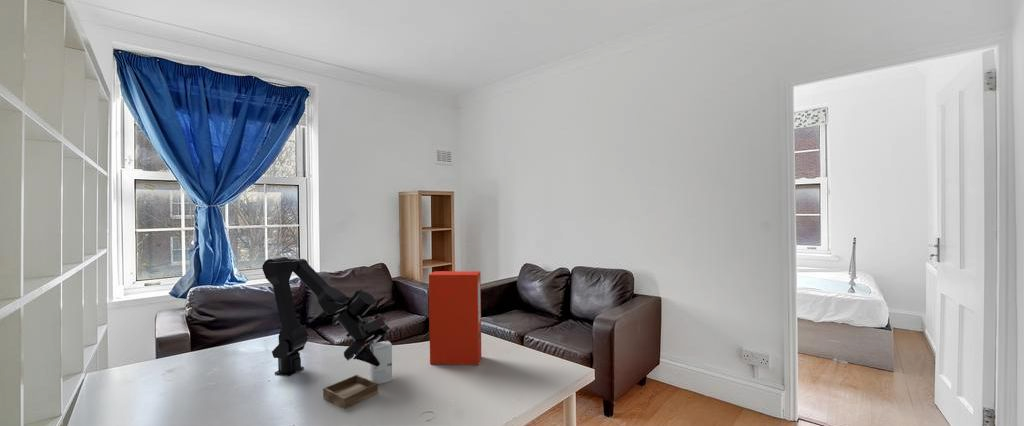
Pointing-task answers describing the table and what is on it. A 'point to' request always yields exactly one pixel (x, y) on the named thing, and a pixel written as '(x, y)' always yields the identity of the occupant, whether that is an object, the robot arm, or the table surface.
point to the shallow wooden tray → (350, 391)
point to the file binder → (455, 317)
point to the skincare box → (381, 362)
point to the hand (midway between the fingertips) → (385, 360)
